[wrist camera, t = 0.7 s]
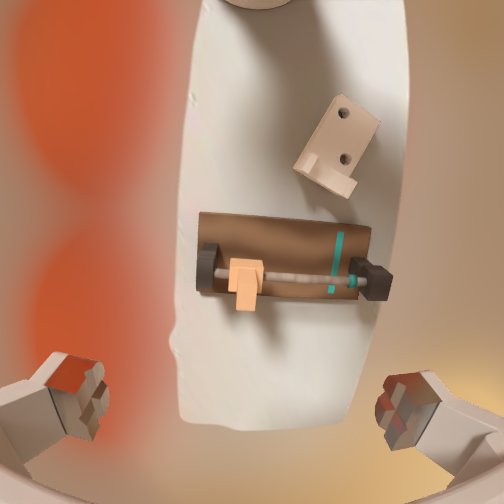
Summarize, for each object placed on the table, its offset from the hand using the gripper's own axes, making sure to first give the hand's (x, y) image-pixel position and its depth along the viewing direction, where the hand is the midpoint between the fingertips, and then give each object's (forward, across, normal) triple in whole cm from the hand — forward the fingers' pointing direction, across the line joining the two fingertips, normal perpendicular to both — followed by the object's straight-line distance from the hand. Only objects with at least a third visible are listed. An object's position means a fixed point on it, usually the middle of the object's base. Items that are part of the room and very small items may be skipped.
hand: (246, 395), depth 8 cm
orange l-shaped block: (+32, -1, +7) cm, 32 cm away
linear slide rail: (+39, -7, +7) cm, 40 cm away
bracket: (+39, -13, -11) cm, 43 cm away
